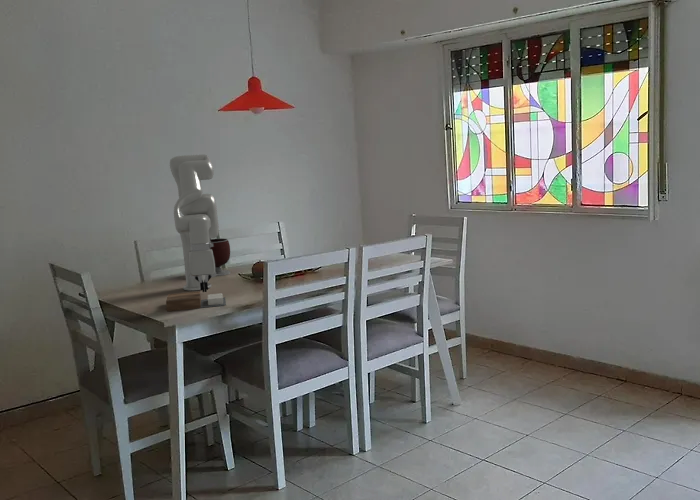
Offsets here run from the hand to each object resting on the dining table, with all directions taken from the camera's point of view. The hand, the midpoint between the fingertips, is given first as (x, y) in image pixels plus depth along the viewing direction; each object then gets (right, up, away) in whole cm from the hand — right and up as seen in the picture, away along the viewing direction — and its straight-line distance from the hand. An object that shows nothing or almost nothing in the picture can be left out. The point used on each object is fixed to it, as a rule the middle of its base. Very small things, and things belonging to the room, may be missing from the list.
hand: (204, 291), depth 279 cm
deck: (-8, -6, -1) cm, 10 cm away
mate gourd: (-8, +5, +66) cm, 67 cm away
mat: (+3, -5, +1) cm, 6 cm away
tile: (+4, -2, +1) cm, 5 cm away
